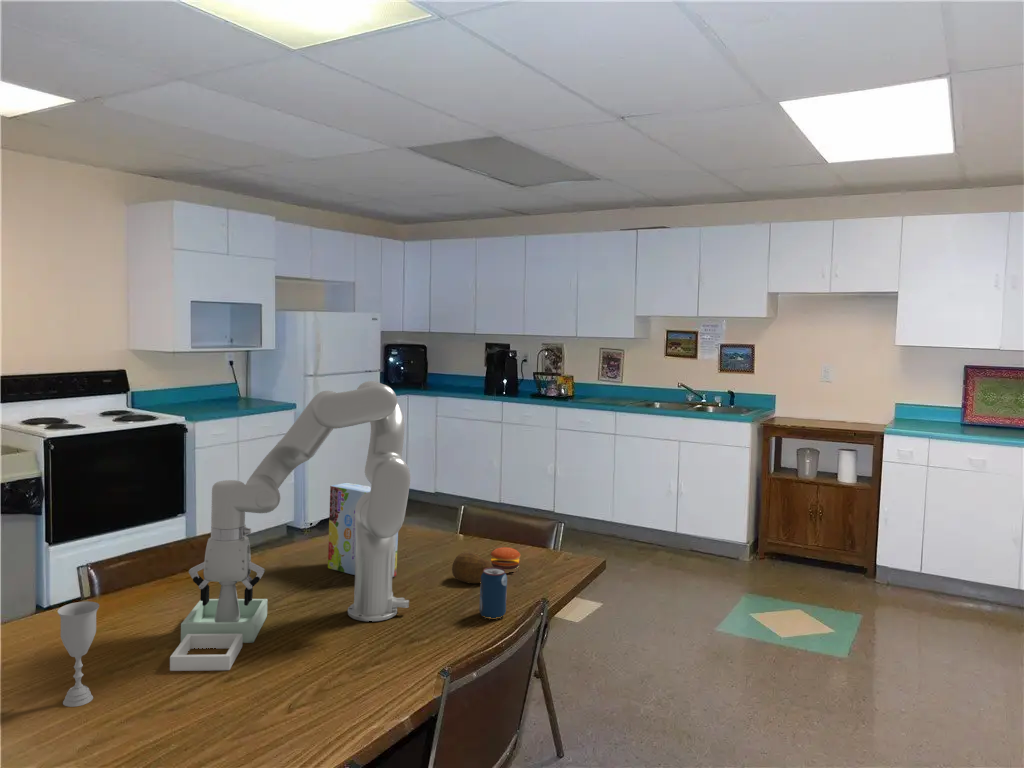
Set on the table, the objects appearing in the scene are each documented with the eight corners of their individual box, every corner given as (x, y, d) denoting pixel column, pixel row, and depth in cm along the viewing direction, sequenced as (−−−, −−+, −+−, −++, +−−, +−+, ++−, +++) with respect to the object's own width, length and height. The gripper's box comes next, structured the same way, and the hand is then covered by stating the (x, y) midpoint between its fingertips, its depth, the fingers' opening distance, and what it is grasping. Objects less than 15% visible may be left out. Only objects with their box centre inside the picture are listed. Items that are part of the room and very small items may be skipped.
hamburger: (490, 563, 240) (491, 543, 239) (520, 565, 240) (521, 545, 239) (488, 573, 230) (489, 551, 230) (519, 574, 230) (521, 553, 230)
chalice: (69, 690, 146) (69, 601, 145) (105, 691, 147) (106, 601, 146) (49, 709, 139) (49, 615, 138) (87, 709, 140) (88, 615, 139)
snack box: (398, 576, 223) (402, 491, 222) (378, 583, 216) (381, 495, 214) (346, 561, 235) (348, 480, 233) (325, 568, 228) (328, 484, 226)
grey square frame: (242, 646, 170) (242, 633, 170) (229, 670, 158) (229, 656, 158) (187, 646, 169) (187, 633, 168) (169, 670, 157) (170, 656, 156)
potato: (481, 590, 214) (482, 560, 214) (445, 583, 219) (446, 553, 219) (494, 582, 222) (495, 553, 222) (459, 575, 227) (460, 546, 226)
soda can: (511, 616, 196) (513, 571, 195) (492, 622, 191) (494, 576, 190) (492, 608, 200) (494, 564, 200) (473, 615, 195) (475, 569, 195)
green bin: (267, 616, 188) (267, 598, 188) (253, 642, 172) (253, 623, 172) (200, 616, 186) (201, 598, 186) (180, 643, 170) (180, 624, 170)
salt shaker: (231, 632, 176) (232, 578, 175) (209, 630, 177) (210, 576, 176) (244, 623, 182) (246, 571, 181) (223, 621, 183) (224, 568, 182)
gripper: (268, 529, 183) (267, 598, 184) (194, 528, 180) (193, 598, 181) (262, 537, 175) (260, 609, 176) (185, 537, 173) (183, 609, 174)
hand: (226, 603), depth 179 cm, fingers open, 9 cm apart
